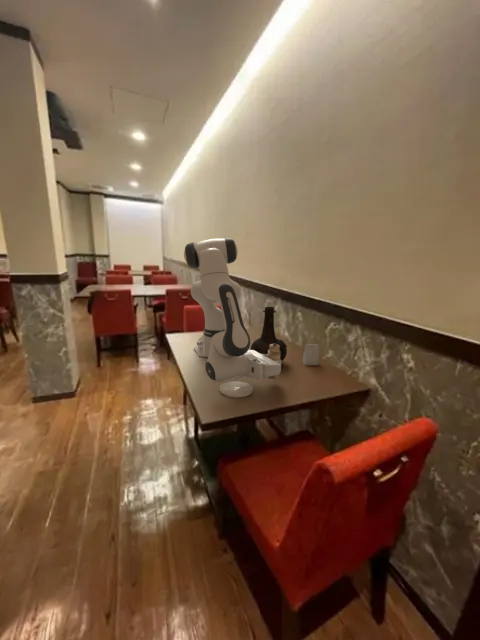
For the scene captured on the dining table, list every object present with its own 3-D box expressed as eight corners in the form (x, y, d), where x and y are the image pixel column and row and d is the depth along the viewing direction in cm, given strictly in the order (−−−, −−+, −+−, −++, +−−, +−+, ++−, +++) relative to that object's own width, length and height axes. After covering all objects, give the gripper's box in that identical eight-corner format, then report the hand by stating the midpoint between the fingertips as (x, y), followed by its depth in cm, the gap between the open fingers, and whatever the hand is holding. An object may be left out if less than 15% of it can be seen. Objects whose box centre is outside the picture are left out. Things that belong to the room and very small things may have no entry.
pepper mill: (264, 375, 127) (266, 342, 124) (273, 373, 130) (276, 340, 127) (271, 380, 123) (273, 345, 120) (281, 377, 126) (283, 344, 123)
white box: (318, 365, 152) (319, 345, 150) (304, 365, 151) (306, 345, 149) (315, 362, 156) (317, 343, 154) (302, 362, 155) (304, 343, 153)
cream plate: (214, 387, 124) (214, 385, 123) (241, 381, 130) (241, 379, 130) (229, 400, 113) (230, 398, 113) (259, 393, 119) (259, 390, 119)
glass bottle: (285, 370, 143) (288, 311, 138) (247, 367, 147) (248, 309, 141) (287, 358, 160) (290, 305, 155) (252, 355, 164) (254, 303, 158)
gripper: (233, 363, 128) (260, 358, 135) (261, 381, 111) (291, 374, 118) (233, 348, 126) (261, 344, 133) (262, 365, 109) (292, 359, 116)
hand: (275, 358), depth 125 cm, fingers closed on pepper mill, 5 cm apart
